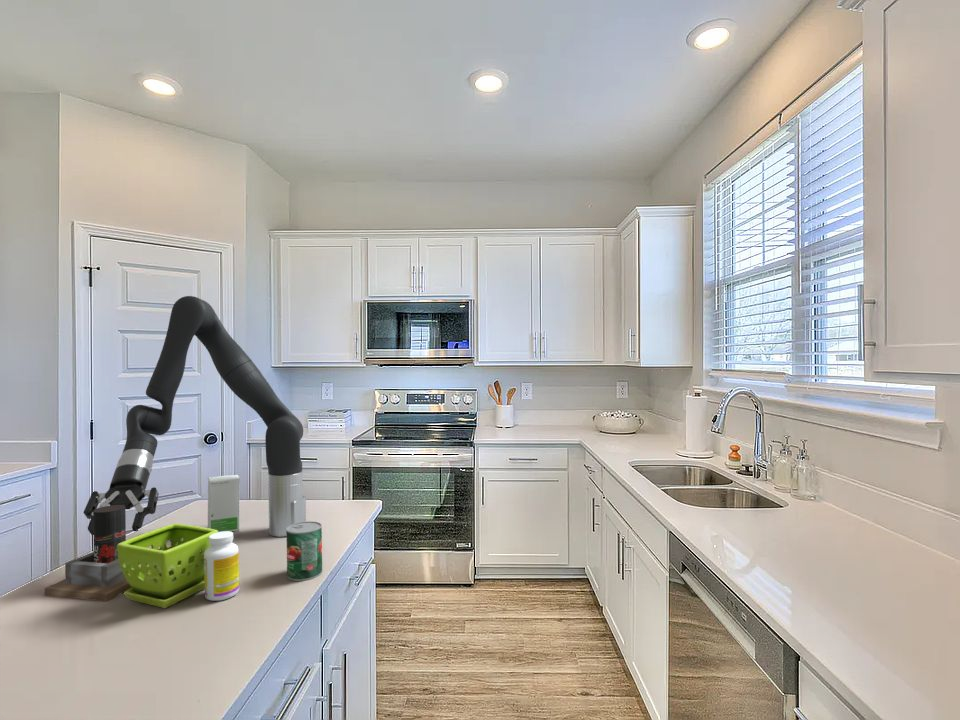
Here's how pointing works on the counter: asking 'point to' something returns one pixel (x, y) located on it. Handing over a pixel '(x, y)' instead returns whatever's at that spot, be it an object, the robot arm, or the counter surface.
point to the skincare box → (223, 503)
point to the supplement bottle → (221, 567)
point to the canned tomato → (304, 550)
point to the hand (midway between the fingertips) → (113, 531)
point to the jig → (91, 580)
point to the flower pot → (165, 564)
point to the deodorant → (108, 532)
